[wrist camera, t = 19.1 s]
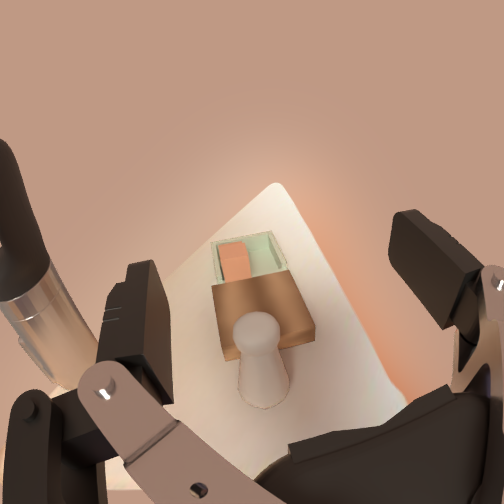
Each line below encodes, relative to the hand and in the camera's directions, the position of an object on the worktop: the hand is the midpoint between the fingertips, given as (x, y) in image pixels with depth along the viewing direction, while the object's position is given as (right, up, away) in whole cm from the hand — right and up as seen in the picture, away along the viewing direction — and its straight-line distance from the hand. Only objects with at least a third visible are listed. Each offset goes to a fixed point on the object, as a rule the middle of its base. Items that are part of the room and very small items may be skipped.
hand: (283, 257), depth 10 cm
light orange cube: (-3, -3, +40) cm, 40 cm away
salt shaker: (+1, -17, +25) cm, 30 cm away
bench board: (0, -9, +35) cm, 36 cm away
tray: (-2, -3, +45) cm, 45 cm away
